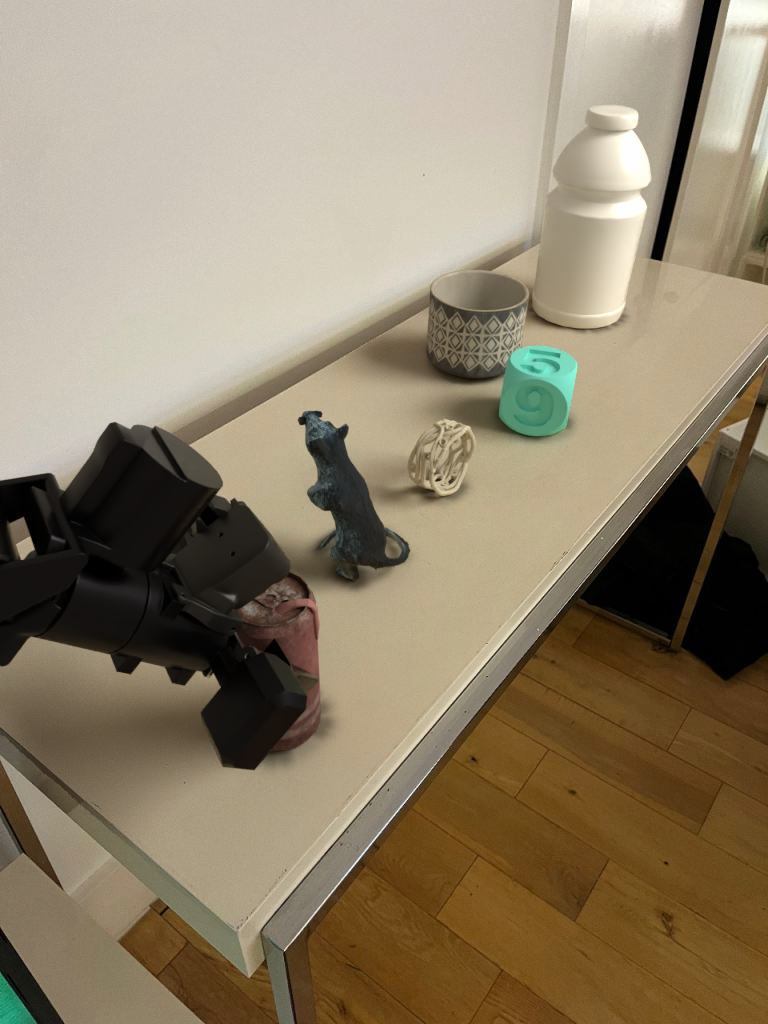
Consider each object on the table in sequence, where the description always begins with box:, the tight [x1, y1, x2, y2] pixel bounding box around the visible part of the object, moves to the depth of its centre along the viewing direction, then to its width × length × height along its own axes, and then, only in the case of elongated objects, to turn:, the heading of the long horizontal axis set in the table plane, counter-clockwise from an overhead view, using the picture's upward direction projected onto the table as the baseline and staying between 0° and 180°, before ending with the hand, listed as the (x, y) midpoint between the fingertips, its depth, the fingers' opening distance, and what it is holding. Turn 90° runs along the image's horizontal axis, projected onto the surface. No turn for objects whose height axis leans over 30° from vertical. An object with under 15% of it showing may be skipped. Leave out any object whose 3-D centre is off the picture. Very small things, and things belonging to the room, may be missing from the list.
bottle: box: [531, 104, 652, 329], centre depth 110 cm, size 14×14×28 cm
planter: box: [426, 269, 530, 379], centre depth 103 cm, size 13×13×10 cm
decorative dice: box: [498, 345, 579, 437], centre depth 93 cm, size 8×8×8 cm
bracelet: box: [407, 418, 477, 497], centre depth 83 cm, size 4×8×8 cm, turn 141°
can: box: [232, 571, 322, 752], centre depth 57 cm, size 6×6×14 cm
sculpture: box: [297, 410, 411, 582], centre depth 72 cm, size 8×11×15 cm
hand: (297, 656), depth 57 cm, fingers closed on can, 5 cm apart
